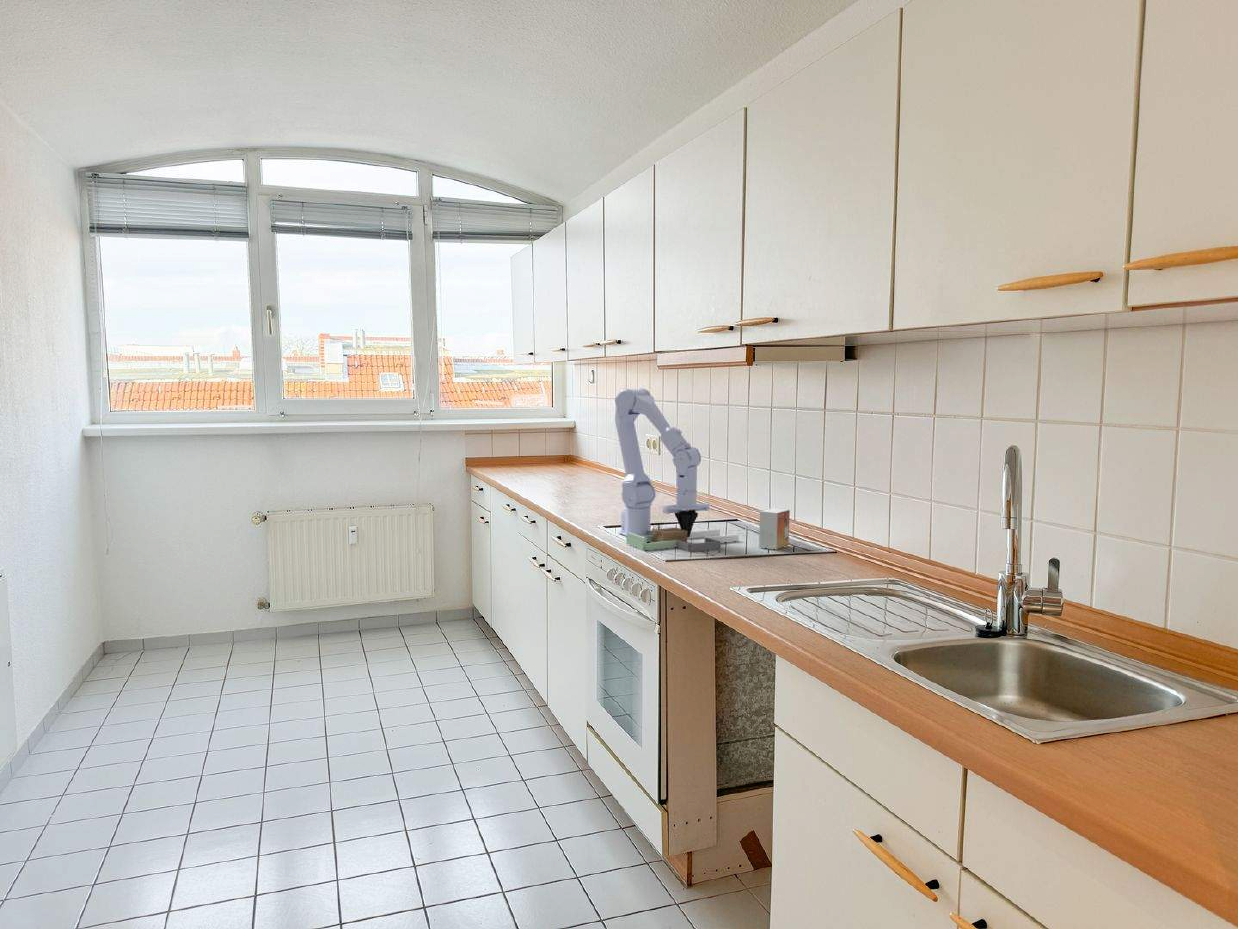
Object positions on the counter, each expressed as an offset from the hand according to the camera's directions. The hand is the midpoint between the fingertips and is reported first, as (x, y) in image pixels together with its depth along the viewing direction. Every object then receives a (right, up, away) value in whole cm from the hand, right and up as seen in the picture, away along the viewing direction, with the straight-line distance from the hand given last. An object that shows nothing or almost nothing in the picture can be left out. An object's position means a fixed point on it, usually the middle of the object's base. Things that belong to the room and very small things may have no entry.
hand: (685, 536), depth 243 cm
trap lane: (-1, -2, 0) cm, 2 cm away
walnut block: (-5, -2, -2) cm, 6 cm away
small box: (+24, -3, -6) cm, 25 cm away
